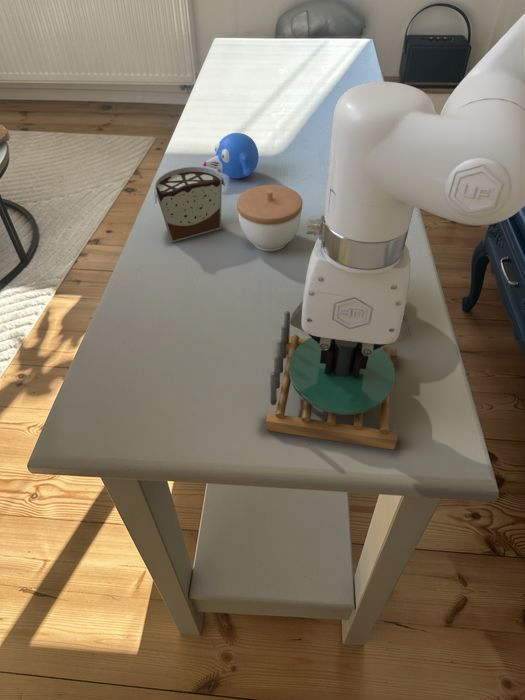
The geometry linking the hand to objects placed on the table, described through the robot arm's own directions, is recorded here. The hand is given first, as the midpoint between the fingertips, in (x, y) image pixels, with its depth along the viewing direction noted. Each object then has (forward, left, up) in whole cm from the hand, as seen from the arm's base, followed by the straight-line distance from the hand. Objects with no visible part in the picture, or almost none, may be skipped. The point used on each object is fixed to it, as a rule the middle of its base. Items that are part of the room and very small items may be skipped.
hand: (342, 366), depth 57 cm
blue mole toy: (+26, -52, -5) cm, 59 cm away
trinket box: (+14, -31, -5) cm, 35 cm away
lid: (0, 0, -1) cm, 1 cm away
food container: (+29, -33, -5) cm, 45 cm away
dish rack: (0, 0, -5) cm, 5 cm away
